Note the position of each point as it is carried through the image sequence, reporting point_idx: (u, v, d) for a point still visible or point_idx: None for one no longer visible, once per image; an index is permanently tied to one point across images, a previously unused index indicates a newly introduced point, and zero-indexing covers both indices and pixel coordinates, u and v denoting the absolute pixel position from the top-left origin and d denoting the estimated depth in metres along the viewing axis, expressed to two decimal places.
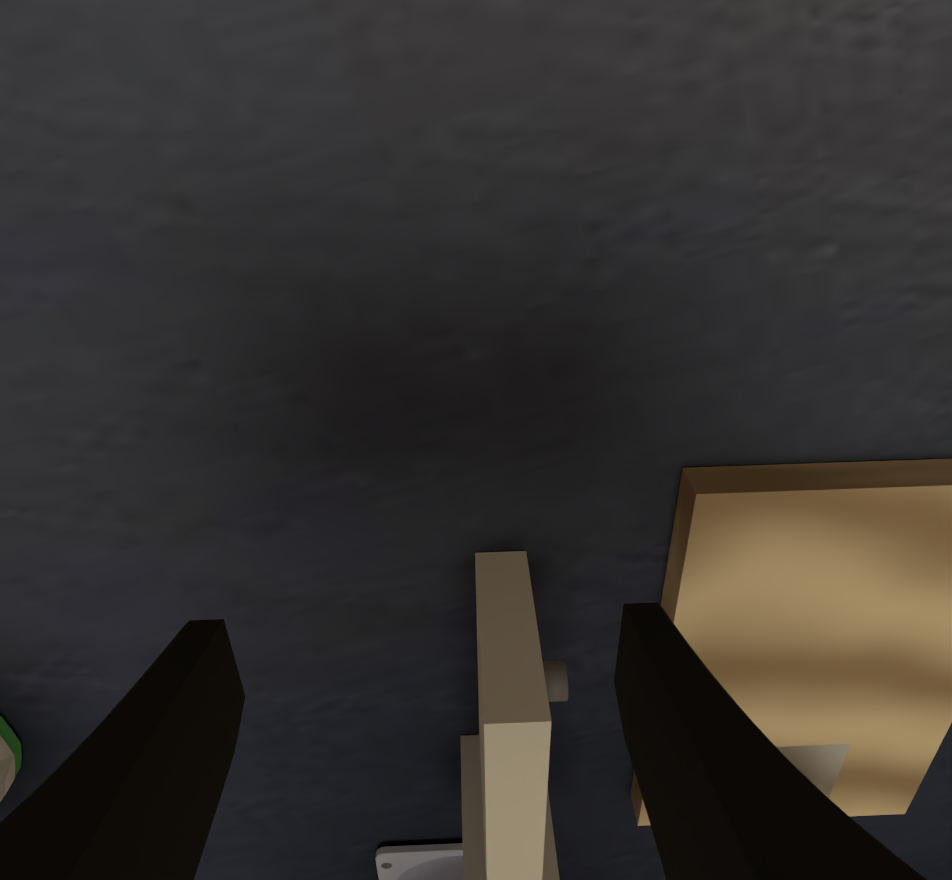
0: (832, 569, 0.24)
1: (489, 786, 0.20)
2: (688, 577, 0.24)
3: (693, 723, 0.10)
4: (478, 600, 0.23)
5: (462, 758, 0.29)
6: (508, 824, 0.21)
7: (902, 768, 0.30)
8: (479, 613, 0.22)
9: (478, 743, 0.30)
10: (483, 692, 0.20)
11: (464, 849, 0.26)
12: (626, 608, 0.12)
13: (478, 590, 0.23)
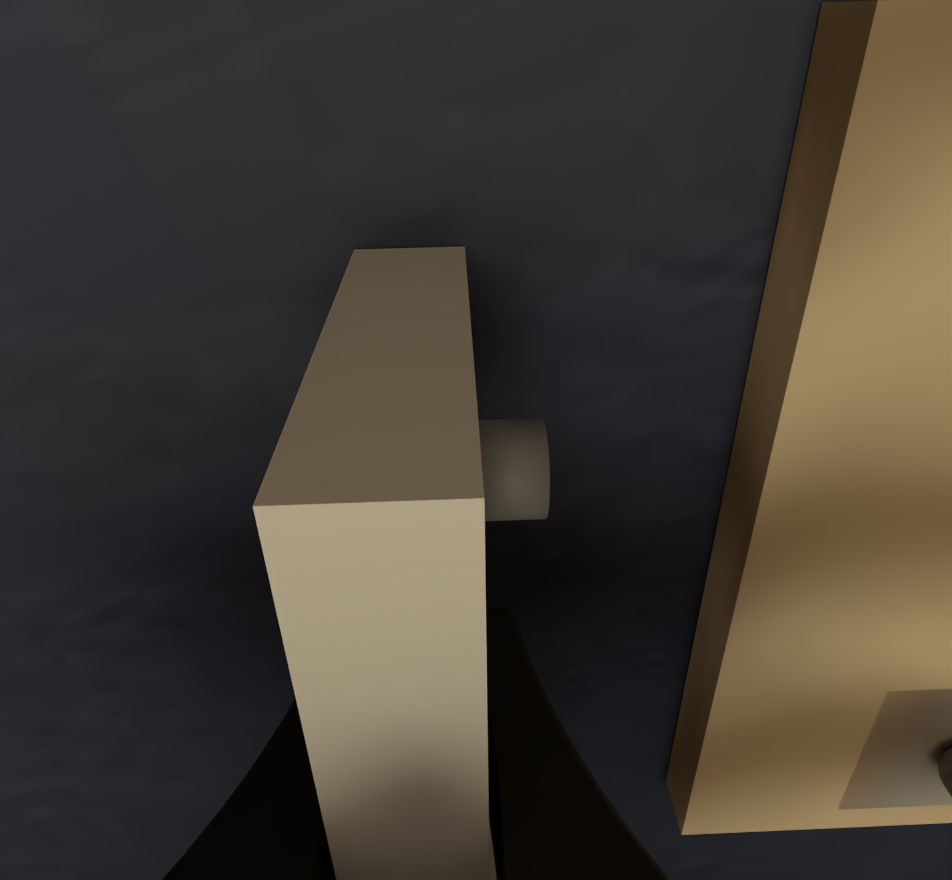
0: None
1: (316, 736, 0.07)
2: (828, 274, 0.10)
3: (502, 731, 0.10)
4: (337, 301, 0.09)
5: None
6: (390, 843, 0.08)
7: None
8: (331, 314, 0.09)
9: None
10: (283, 439, 0.06)
11: None
12: None
13: (342, 288, 0.10)
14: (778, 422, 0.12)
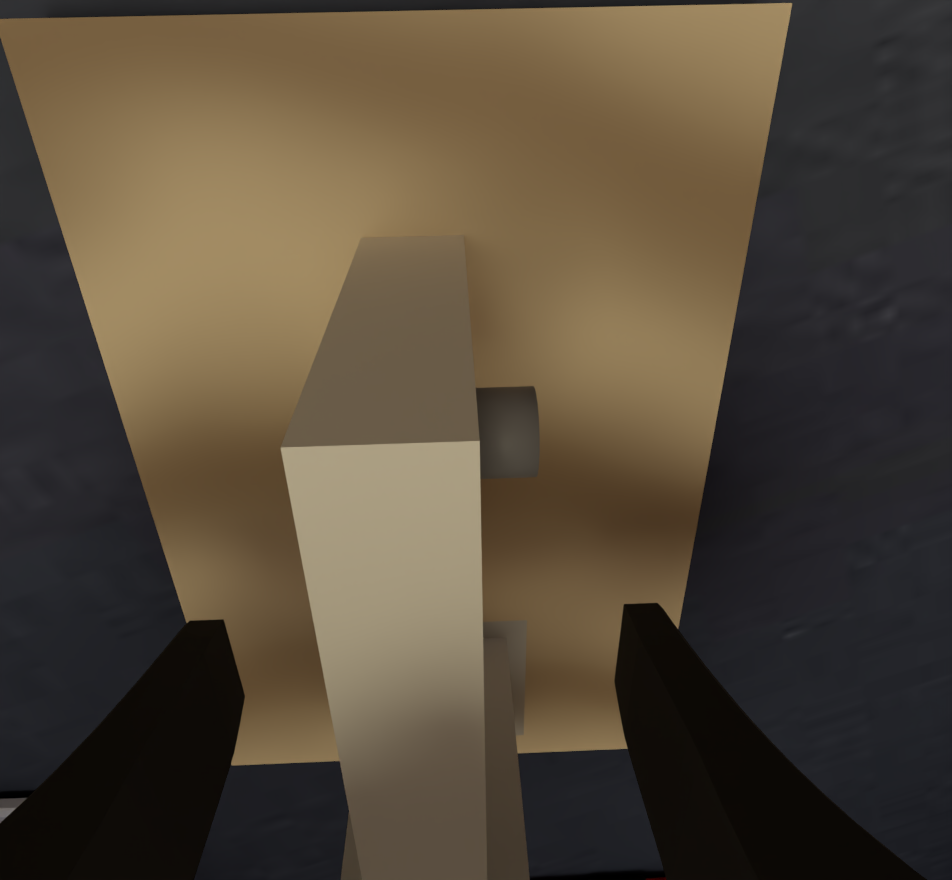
0: (361, 234, 0.12)
1: (331, 661, 0.08)
2: (80, 248, 0.12)
3: (693, 723, 0.10)
4: (346, 282, 0.10)
5: None
6: (396, 767, 0.09)
7: None
8: (341, 294, 0.10)
9: None
10: (303, 395, 0.07)
11: (349, 834, 0.13)
12: (626, 608, 0.12)
13: (351, 271, 0.11)
14: None
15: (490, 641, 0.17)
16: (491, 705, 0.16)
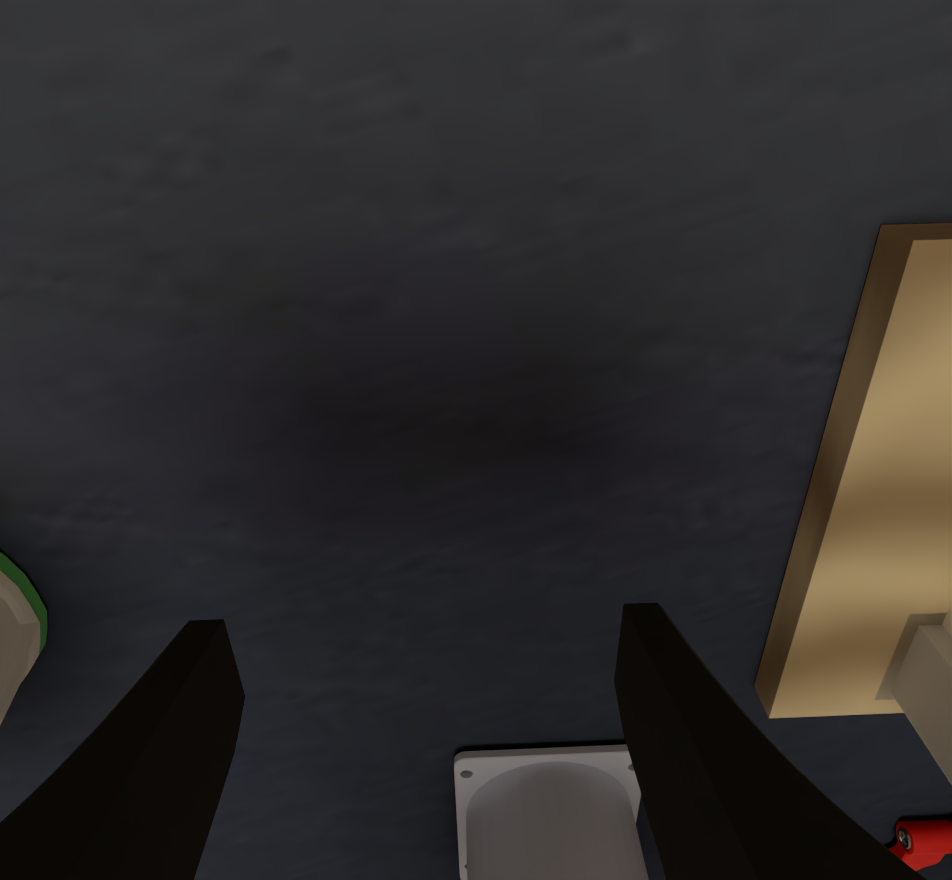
0: None
1: None
2: (883, 367, 0.19)
3: (693, 723, 0.10)
4: None
5: (939, 649, 0.23)
6: None
7: None
8: None
9: (947, 633, 0.24)
10: None
11: None
12: (626, 608, 0.12)
13: None
14: (850, 446, 0.20)
15: None
16: None
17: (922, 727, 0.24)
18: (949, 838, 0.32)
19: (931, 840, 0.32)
